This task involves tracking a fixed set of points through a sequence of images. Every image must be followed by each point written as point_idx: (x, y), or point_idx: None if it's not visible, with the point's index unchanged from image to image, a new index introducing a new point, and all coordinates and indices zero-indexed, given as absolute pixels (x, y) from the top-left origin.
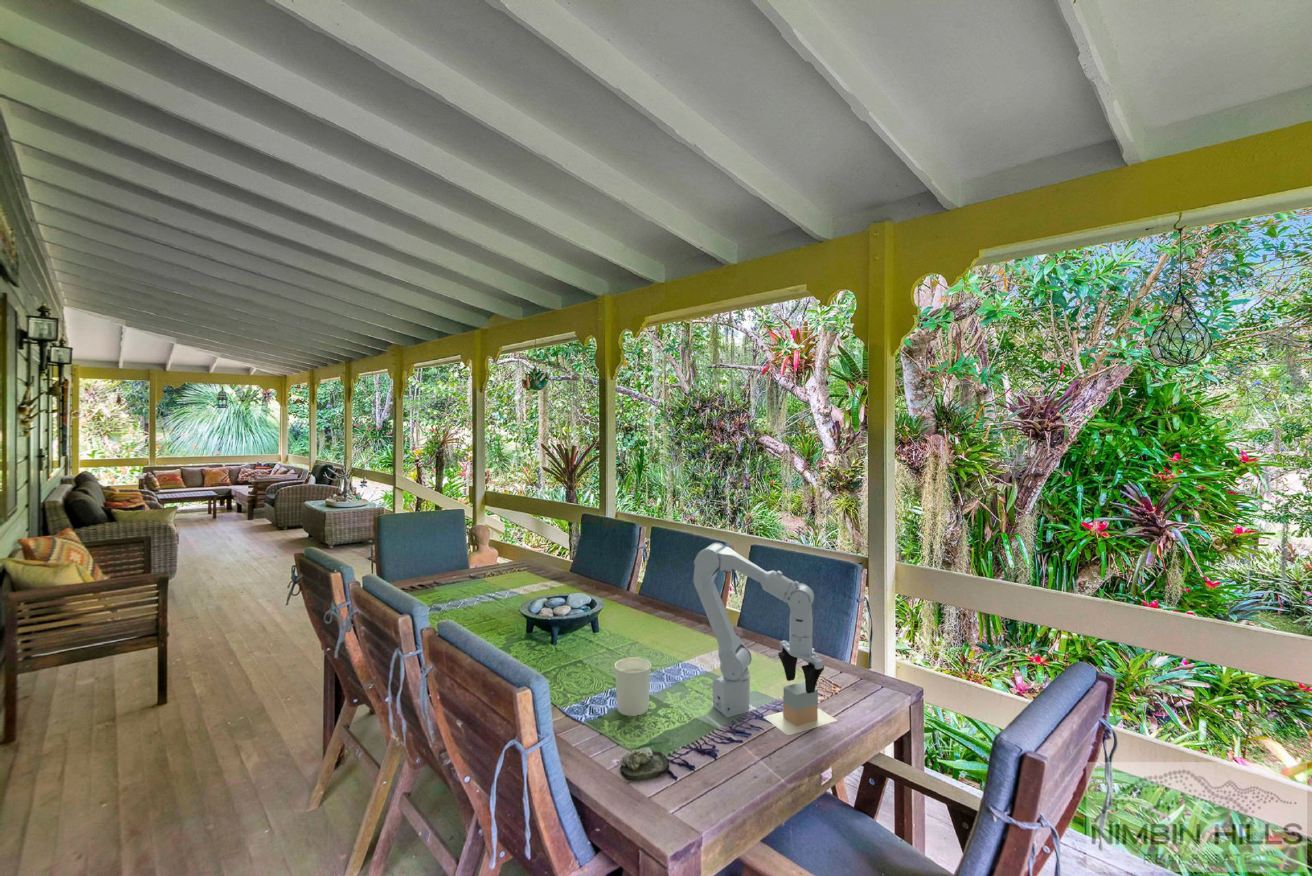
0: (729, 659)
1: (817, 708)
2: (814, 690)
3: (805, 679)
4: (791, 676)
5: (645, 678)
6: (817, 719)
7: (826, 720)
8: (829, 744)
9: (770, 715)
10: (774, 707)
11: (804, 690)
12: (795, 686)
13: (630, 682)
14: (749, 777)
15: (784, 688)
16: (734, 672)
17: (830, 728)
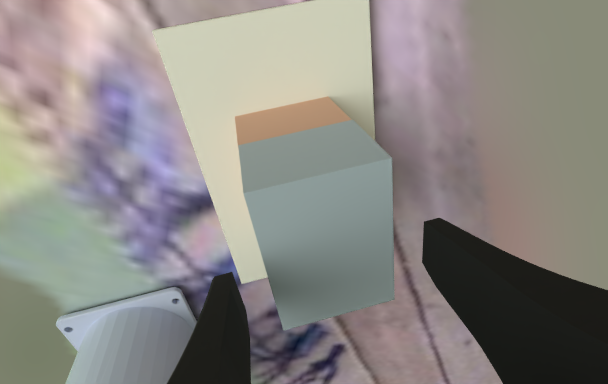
0: None
1: (345, 114)
2: (448, 223)
3: (487, 349)
4: (240, 314)
5: None
6: (328, 97)
7: (346, 53)
8: (469, 132)
9: (238, 260)
10: (152, 215)
11: (368, 245)
12: (301, 275)
13: None
14: (463, 351)
15: (291, 322)
16: None
17: (388, 62)
